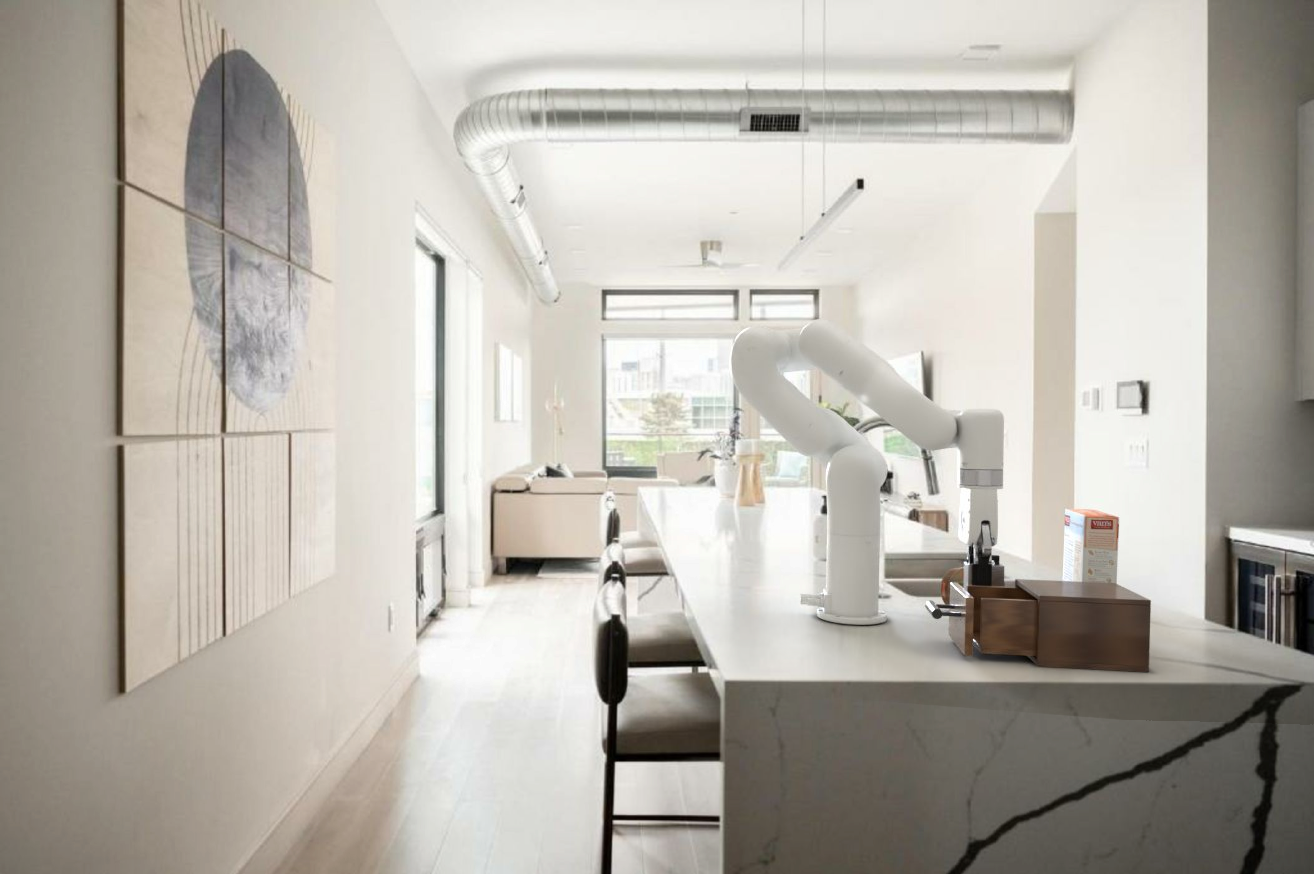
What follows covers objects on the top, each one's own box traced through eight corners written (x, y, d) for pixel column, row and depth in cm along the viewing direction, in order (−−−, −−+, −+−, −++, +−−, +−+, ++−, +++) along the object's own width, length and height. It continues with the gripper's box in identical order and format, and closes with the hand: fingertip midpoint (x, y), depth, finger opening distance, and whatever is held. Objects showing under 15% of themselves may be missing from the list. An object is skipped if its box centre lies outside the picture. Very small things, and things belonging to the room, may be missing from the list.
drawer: (934, 653, 139) (935, 596, 139) (921, 633, 153) (922, 581, 152) (1065, 660, 137) (1066, 601, 137) (1040, 639, 150) (1041, 586, 150)
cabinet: (1037, 666, 137) (1039, 595, 136) (1013, 643, 151) (1015, 579, 151) (1149, 672, 135) (1151, 600, 134) (1113, 648, 149) (1115, 583, 149)
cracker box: (1117, 639, 155) (1120, 516, 155) (1079, 637, 156) (1082, 514, 156) (1095, 622, 169) (1098, 508, 168) (1060, 620, 170) (1063, 507, 170)
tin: (949, 613, 174) (950, 569, 174) (937, 610, 177) (938, 566, 177) (1005, 607, 181) (1006, 565, 181) (993, 604, 184) (994, 562, 183)
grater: (967, 619, 158) (968, 556, 158) (963, 614, 162) (963, 552, 162) (1003, 621, 158) (1004, 557, 158) (998, 616, 162) (999, 553, 161)
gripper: (949, 476, 169) (948, 576, 169) (967, 482, 152) (965, 592, 152) (991, 477, 168) (990, 577, 168) (1014, 483, 151) (1012, 594, 151)
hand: (978, 583), depth 160 cm, fingers closed on grater, 4 cm apart
